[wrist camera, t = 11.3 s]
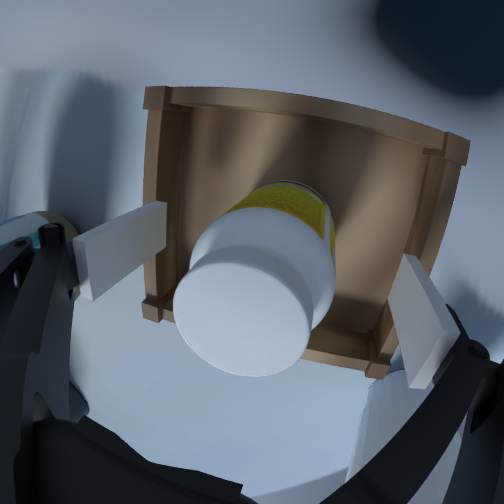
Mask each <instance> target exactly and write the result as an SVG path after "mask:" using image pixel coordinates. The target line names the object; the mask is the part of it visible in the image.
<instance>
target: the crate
mask: <svg viewBox="0 0 504 504" xmlns="http://www.w3.org/2000/svg"><path fill="white" fill-rule="evenodd" d="M143 109H146V110H148V120H147V131H146V143H145V158H144V179H143V206H145V205H147V204H149V203H152V202H154V201H160V202H166V203H167V219H166V247H165V248H164V249H163V250H161V251H160V252H158V253H157V254H156V255H154V256H153V257H151V258H150V259H149V260H147V261H146V262H144V279H145V294H146V299H145V300H144V301H142V313H143V318H146V319H148V320H151V321H154V322H157V323H159V322H160V321H161V320H162V319H164V320H167V321H170V322H173V323H176V322H175V319H174V313H173V299H174V294H175V291H176V289H177V286H178V284H179V282H180V281H181V280H182V278H183V277H184V276H185V275H186V274H187V272H188V271H189V267H190V260H191V255H192V252H193V249H194V247H195V245H196V243H197V241H198V239H199V237H200V236H201V235H202V233H203V232H204V231H205V230H206V229H207V227H208V226H209V225H210V224H211V223H213V222H214V221H215V220H216V219H217V218H219V217H220V216H221V215H223V214H224V213H225V212H227V211H228V210H229V209H230V208H232V207H233V206H234V205H236V204H237V203H238V202H240V201H241V200H242V199H244V198H245V197H246V196H247V195H249V194H250V193H251V192H253V191H254V190H256V189H257V188H259V187H260V186H262V185H265V184H267V183H270V182H273V181H279V180H290V181H296V182H300V183H303V184H305V185H307V186H309V187H311V188H312V189H314V190H315V191H316V192H317V193H319V194H320V195H321V197H322V198H323V199H324V200H325V201H326V203H327V205H328V206H329V208H330V211H331V214H332V217H333V221H334V230H335V253H336V284H335V292H334V296H333V300H332V303H331V305H330V307H329V310H328V311H327V313H326V315H325V316H324V318H323V319H322V320H321V321H320V323H319V324H318V325H317V326H316V327H315V328H313V329H312V330H311V334H310V339H309V342H308V345H307V347H306V349H305V351H304V353H303V354H302V356H301V357H300V359H305V360H309V361H314V362H319V363H324V364H329V365H334V366H339V367H344V368H349V369H355V370H361V371H365V377H368V378H374V379H381V380H383V379H384V377H385V376H386V374H387V372H388V370H389V369H390V367H391V363H390V359H391V358H392V356H393V354H394V352H395V350H396V348H397V346H398V344H399V341H398V337H397V333H396V329H395V325H394V321H393V317H392V313H391V310H390V306H389V303H388V299H387V298H388V295H389V293H390V290H391V288H392V285H393V282H394V279H395V277H396V274H397V271H398V268H399V265H400V262H401V259H402V256H403V253H405V254H409V255H413V256H416V257H417V258H418V260H419V261H420V263H421V265H422V266H423V268H424V269H425V271H426V273H427V274H428V276H430V273H431V270H432V268H433V265H434V262H435V259H436V257H437V254H438V251H439V248H440V245H441V242H442V239H443V235H444V232H445V229H446V226H447V223H448V219H449V215H450V212H451V208H452V204H453V201H454V197H455V193H456V188H457V184H458V179H459V175H460V170H461V165H464V166H466V164H467V158H468V153H469V146H470V141H469V140H467V139H465V138H463V137H460V136H458V135H455V134H453V133H450V132H443V131H441V130H438V129H435V128H432V127H429V126H427V125H424V124H421V123H418V122H415V121H412V120H409V119H405V118H402V117H399V116H396V115H392V114H389V113H385V112H381V111H377V110H374V109H370V108H366V107H362V106H357V105H353V104H349V103H344V102H339V101H334V100H329V99H324V98H318V97H312V96H306V95H300V94H292V93H285V92H276V91H267V90H257V89H244V88H227V87H169V86H151V87H145V95H144V104H143Z"/></svg>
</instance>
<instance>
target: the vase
mask: <svg viewBox="0 0 504 504" xmlns="http://www.w3.org/2000/svg"><path fill="white" fill-rule="evenodd" d="M53 222H60V223H63V224H64V227H65V236H66V244H67V243H69V242H71V241H73V238H75V237H77V236H79V234H78V232H77V230H76V229H75V227H74V226H73V225H72V224H71V223H70V222H69V221H68V220H67V219H66V218H64V217H63V216H61V215H59V214H57V213H54V212H49V211H37V212H32V213H28V214H24V215H21V216H17V217H14V218H11V219H9V220H6V221H3V222H1V223H0V251H1V250H3V249H4V248H5V247H6V246H7V245H8V244H9V243H10V242H12V241H13V240H15V239H17V238H19V237H30V238H32V242H33V248H38V249H39V248H40V241H39V235H38V228H39V227H40V226H42V225H44V224H47V223H53ZM14 283H15V286H17V280H16V276H15V274H14ZM74 292H75V300H76V299H77V298H78V296H79V295H80V294H81V292H80V286H79V285H78V286H76V287H75V288H74Z"/></svg>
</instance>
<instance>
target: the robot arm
mask: <svg viewBox="0 0 504 504" xmlns="http://www.w3.org/2000/svg"><path fill="white" fill-rule="evenodd" d="M166 219H167V203H166V202H160V201H154V202H152V203H149V204H147V205H145V206H142V207H140V208H137V209H135V210H133V211H131V212H128V213H126V214H124V215H121V216H119V217H117V218H115V219H113V220H110V221H108V222H106V223H104V224H102V225H100V226H97V227H95V228H93V229H91V230H89V231H87V232H85V233H83V234H81V235H79V236H77V237H75V238H73V241H71V242H69V243H67V244H66V236H65V227H64V224H63V223H60V222H53V223H47V224H44V225H42V226H40V227H39V228H38V235H39V241H40V248H39V249H38V248H33V242H32V238H30V237H19V238H17V239H15V240H13V241H12V242H10V243H9V244H8V245H7V246H6V247H5V248H4V249H3V250H1V251H0V504H258V503H257V502H255V501H254V500H252V499H251V498H249V497H247V496H245V495H243V494H241V490H242V487H243V484H239V483H235V482H232V481H228V480H225V479H222V478H218V477H215V476H212V475H209V474H206V473H203V472H200V471H196V470H189V469H183V468H177V467H171V466H166V465H161V464H156V463H152V462H150V461H148V460H146V459H145V458H144V457H142V456H141V455H140V454H139V453H137V452H136V451H135V450H134V449H133V448H132V447H130V446H129V445H128V444H127V443H126V442H125V441H123V440H122V439H121V438H120V437H119V436H118V435H117V434H116V433H114V432H112V431H110V430H109V429H107V428H105V427H103V426H102V425H100V424H98V423H97V422H95V421H93V420H92V419H90V418H89V417H87V415H88V413H89V409H88V407H87V405H86V403H85V401H84V399H83V398H82V397H81V395H80V394H79V393H78V391H77V390H76V389H75V388H74V386H73V385H72V384H71V383H70V382H69V357H70V340H71V328H72V317H73V309H74V301H75V292H74V288H75V287H76V286H78V285H79V286H80V292H81V296H82V297H84V298H87V299H89V300H91V301H94V300H95V299H97V298H98V297H99V296H101V295H102V294H103V293H104V292H106V291H107V290H108V289H110V288H111V287H112V286H114V285H115V284H116V283H118V282H119V281H120V280H122V279H123V278H124V277H126V276H127V275H128V274H130V273H131V272H132V271H134V270H135V269H136V268H138V267H139V266H140V265H142V264H143V263H144V262H146V261H147V260H149V259H150V258H151V257H153V256H154V255H156V254H157V253H158V252H160V251H161V250H163V249H164V248H165V247H166ZM14 274H15V276H16V280H17V286H15V283H14ZM387 299H388V303H389V306H390V310H391V313H392V317H393V321H394V325H395V329H396V333H397V337H398V341H399V345H400V349H401V353H402V358H403V363H404V367H405V372H406V377H407V382H408V388H417V389H425V388H426V387H427V386H428V384H429V383H430V381H431V380H432V378H433V381H434V384H435V386H434V388H433V389H432V390H431V392H430V393H429V394H428V396H427V397H426V398H425V400H424V401H423V402H422V404H421V405H420V406H419V407H418V409H417V410H416V411H415V412H414V414H413V415H412V416H411V417H410V418H409V420H408V421H407V422H406V423H405V424H404V425H403V427H402V428H401V429H400V430H399V431H398V432H397V433H396V434H395V435H394V437H393V438H392V439H391V440H390V441H389V442H388V443H387V444H386V445H385V446H384V447H383V448H382V449H381V450H380V451H379V452H378V453H377V454H376V455H375V456H374V457H373V458H372V459H371V460H370V461H369V462H368V463H367V464H366V465H365V466H364V467H363V468H362V469H361V470H359V471H358V472H357V473H356V474H355V475H354V476H353V477H352V478H350V479H349V480H348V481H347V482H346V483H345V484H343V485H342V486H341V487H340V488H339V489H337V490H336V491H335V492H334V493H332V494H331V495H330V496H329V497H327V498H326V499H325V500H323V501H322V502H321V503H320V504H407V503H408V502H409V501H410V500H411V499H412V497H413V496H414V495H415V494H416V492H417V491H418V490H419V488H420V487H421V486H422V484H423V483H424V482H425V480H426V479H427V478H428V476H429V475H430V473H431V472H432V470H433V469H434V468H435V466H436V465H437V463H438V462H439V460H440V459H441V457H442V455H443V454H444V452H445V451H446V449H447V447H448V446H449V444H450V442H451V441H452V439H453V437H454V435H455V434H456V432H457V430H458V428H459V426H460V425H461V422H462V421H463V419H464V417H465V415H466V413H467V411H468V413H467V418H466V423H465V428H464V433H463V438H462V442H461V446H460V450H459V453H458V457H457V461H456V464H455V468H454V471H453V474H452V477H451V480H450V483H449V486H448V489H447V492H446V494H445V497H444V500H443V502H442V504H504V359H503V361H502V362H501V364H498V363H496V362H493V361H491V360H490V355H489V352H488V351H487V349H486V348H485V347H484V346H483V345H482V344H480V343H479V342H477V341H475V340H471V339H469V337H468V335H467V333H466V331H465V329H464V328H463V326H462V325H461V322H460V320H458V317H457V315H456V313H455V311H454V310H453V309H452V308H451V307H450V306H449V305H448V304H445V303H444V301H443V299H442V298H441V296H440V294H439V292H438V291H437V289H436V287H435V286H434V284H433V282H432V281H431V279H430V277H429V276H428V274H427V273H426V271H425V269H424V268H423V266H422V265H421V263H420V261H419V260H418V258H417V257H416V256H413V255H409V254H405V253H403V256H402V259H401V262H400V265H399V268H398V271H397V274H396V277H395V279H394V282H393V285H392V288H391V290H390V293H389V295H388V298H387Z"/></svg>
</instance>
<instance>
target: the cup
mask: <svg viewBox="0 0 504 504" xmlns="http://www.w3.org/2000/svg"><path fill="white" fill-rule="evenodd" d="M433 388H434V385H433V383H432V380H431V381H430V383H429V384H428V386H427V387H426V388H425V389H417V388H408V382H407V377H406V372H405V369H404V370H398V371H395V372H391V373H389V374H387V375H386V376H385V377H384V379H383V380H381V379H378V380H377V381H375V382H374V383H373V384H372V385H371V387H370V388H369V389H368V391H367V394H366V400H365V408H364V409H363V411H362V413H361V415H360V419H359V424H358V430H357V434H356V439H355V444H354V448H353V453H352V457H351V461H350V465H349V469H348V473H347V477H346V481H345V483H346V482H347V481H348V480H349V479H350V478H352V477H353V476H354V475H355V474H356V473H357V472H358V471H359V470H361V469H362V468H363V467H364V466H365V465H366V464H367V463H368V462H369V461H370V460H371V459H372V458H373V457H374V456H375V455H376V454H377V453H378V452H379V451H380V450H381V449H382V448H383V447H384V446H385V445H386V444H387V443H388V442H389V441H390V440H391V439H392V438H393V437H394V435H395V434H396V433H397V432H398V431H399V430H400V429H401V428H402V427H403V425H404V424H405V423H406V422H407V421H408V420H409V418H410V417H411V416H412V415H413V414H414V412H415V411H416V410H417V409H418V407H419V406H420V405H421V404H422V402H423V401H424V400H425V398H426V397H427V396H428V394H429V393H430V392H431V390H432V389H433ZM461 442H462V441H461V439H460V436H459V434H458V431H457V432H456V434H455V435H454V437H453V439H452V441H451V442H450V444H449V446H448V447H447V449H446V451H445V452H444V454H443V455H442V457H441V459H440V460H439V462H438V463H437V465H436V466H435V468H434V469H433V470H432V472H431V473H430V475H429V476H428V478H427V479H426V480H425V482H424V483H423V484H422V486H421V487H420V488H419V490H418V491H417V492H416V494H415V495H414V496H413V497H412V499H411V500H410V501H409V502H408V503H407V504H442V502H443V500H444V497H445V494H446V492H447V489H448V486H449V483H450V480H451V477H452V474H453V471H454V468H455V464H456V461H457V457H458V453H459V450H460V446H461Z"/></svg>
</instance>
